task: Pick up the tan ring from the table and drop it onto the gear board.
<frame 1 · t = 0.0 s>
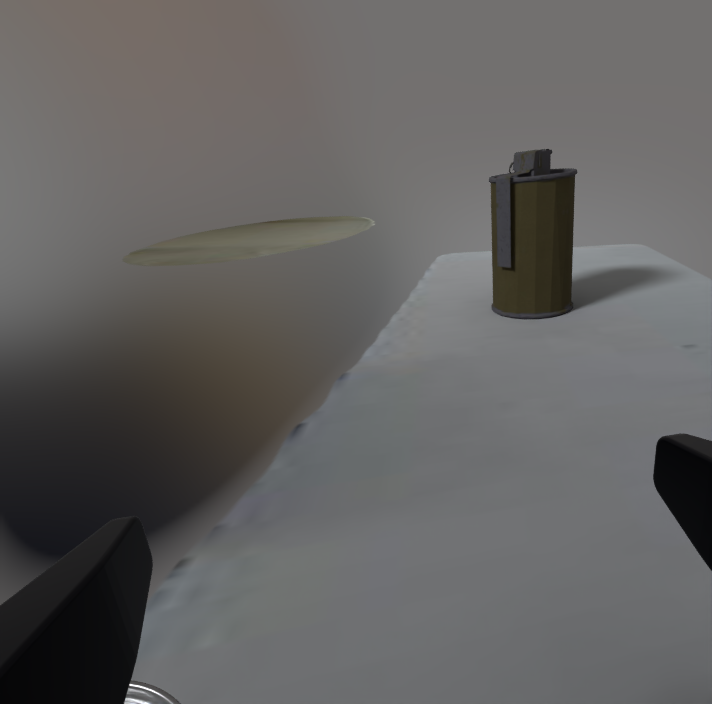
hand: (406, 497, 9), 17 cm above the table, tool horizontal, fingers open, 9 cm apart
canister: (530, 309, 72), on the table
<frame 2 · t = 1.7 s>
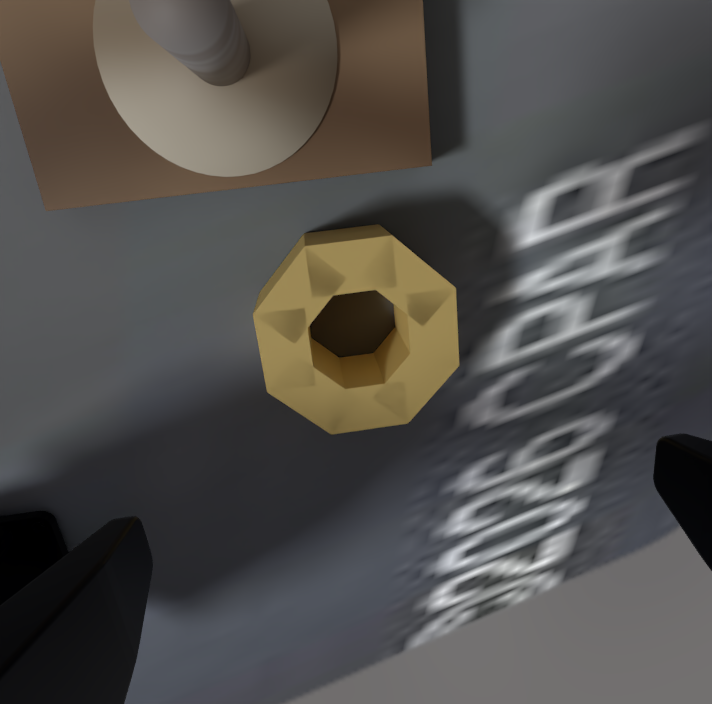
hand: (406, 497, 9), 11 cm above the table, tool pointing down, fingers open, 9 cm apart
tan ring: (351, 315, 20), on the table
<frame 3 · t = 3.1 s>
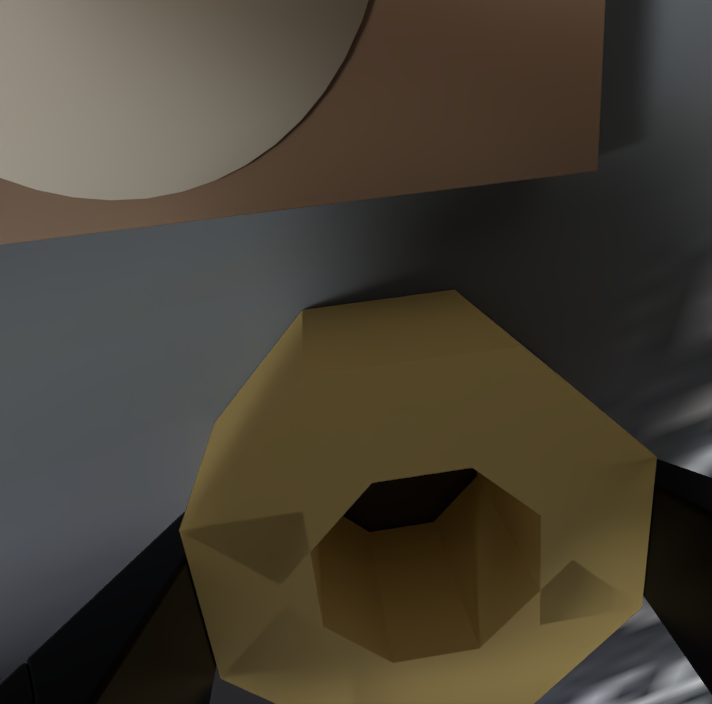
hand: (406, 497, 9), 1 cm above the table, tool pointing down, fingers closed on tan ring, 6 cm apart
tan ring: (394, 459, 10), on the table, touching gripper
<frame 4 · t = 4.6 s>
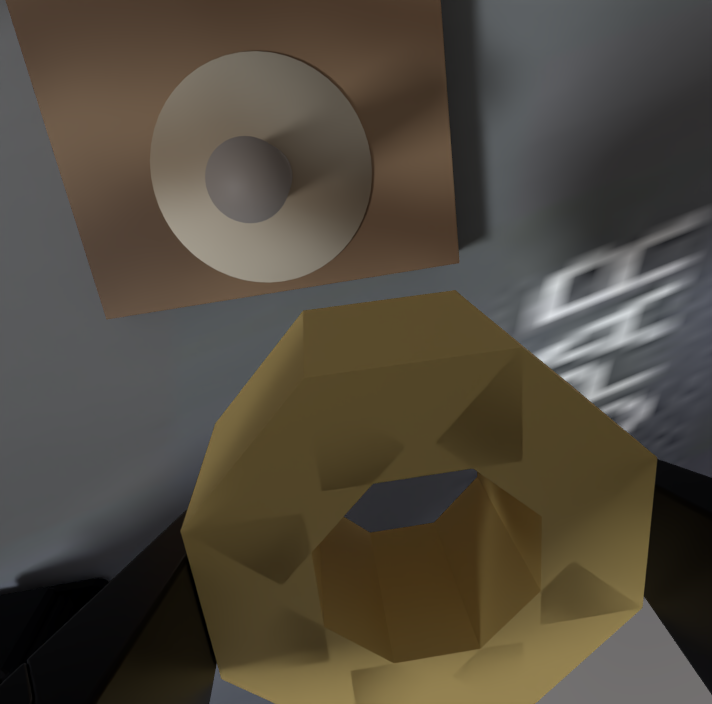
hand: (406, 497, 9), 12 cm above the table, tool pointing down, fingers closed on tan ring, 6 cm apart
tan ring: (395, 460, 10), point 10 cm above the table, touching gripper
gear board: (239, 31, 17), on the table
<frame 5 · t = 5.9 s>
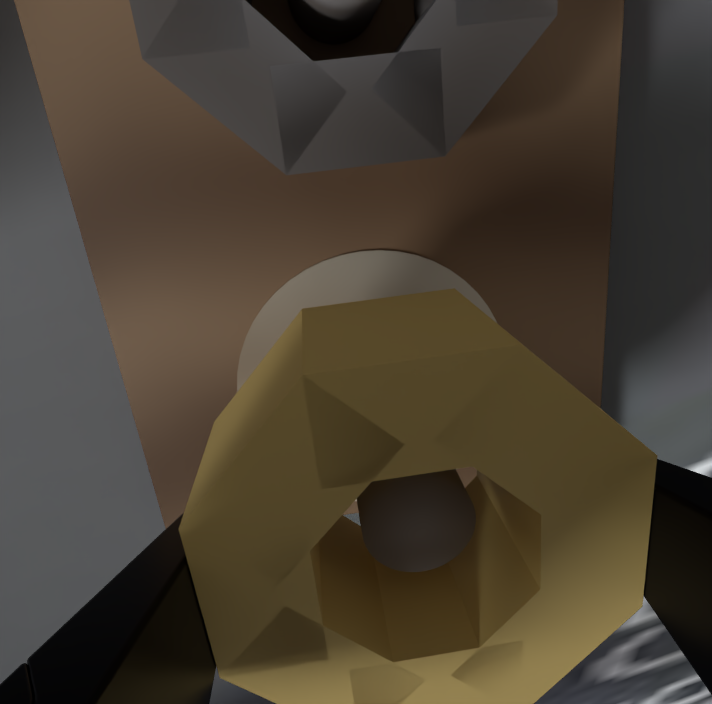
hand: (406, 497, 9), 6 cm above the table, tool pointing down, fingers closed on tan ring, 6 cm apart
tan ring: (394, 458, 10), point 5 cm above the table, touching gripper
gear board: (350, 207, 13), on the table
when the fingers open (5 cm above the table, at t = 6.5 s): tan ring drops 3 cm, resting on gear board.
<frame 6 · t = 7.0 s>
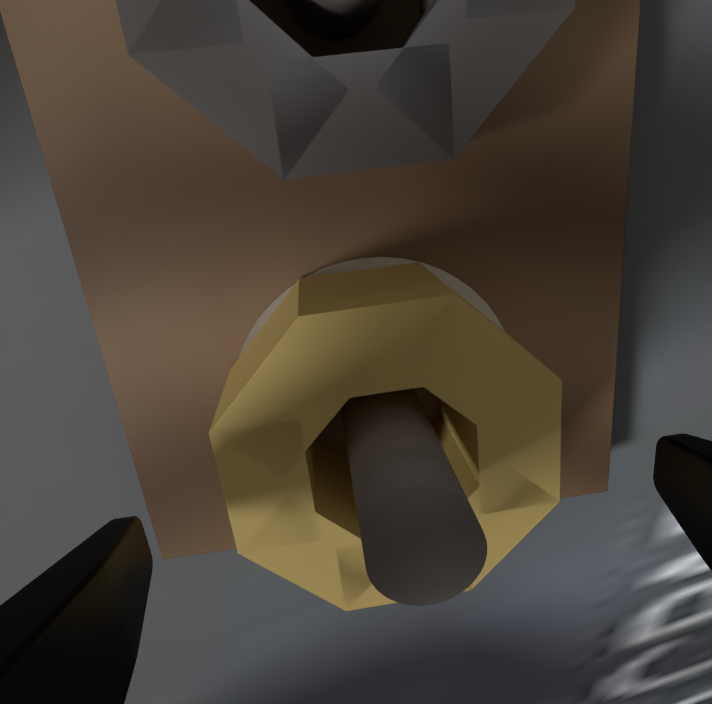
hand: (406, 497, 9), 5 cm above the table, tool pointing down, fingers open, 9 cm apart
tan ring: (374, 401, 13), point 2 cm above the table, touching gear board
gear board: (351, 211, 13), on the table
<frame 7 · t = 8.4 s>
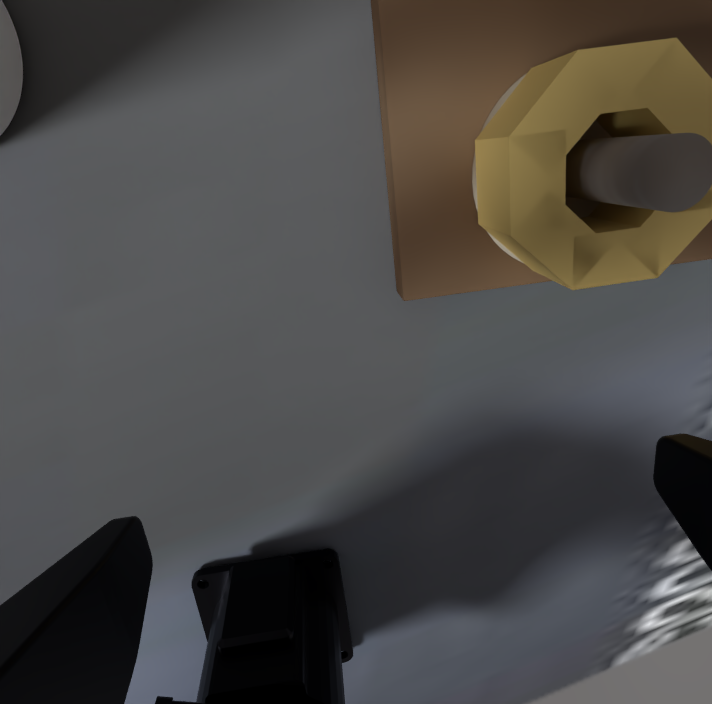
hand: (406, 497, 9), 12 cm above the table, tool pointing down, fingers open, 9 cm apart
tan ring: (570, 170, 18), point 2 cm above the table, touching gear board
gear board: (553, 34, 18), on the table
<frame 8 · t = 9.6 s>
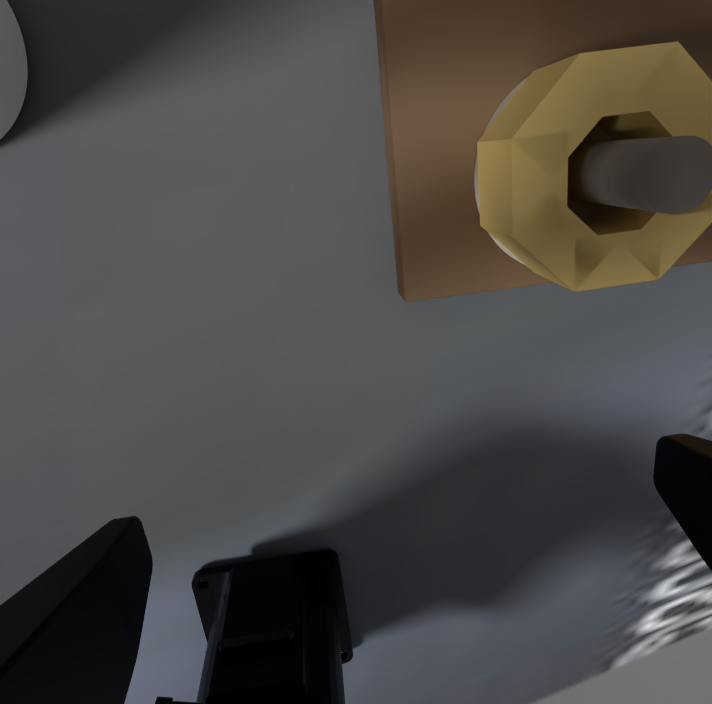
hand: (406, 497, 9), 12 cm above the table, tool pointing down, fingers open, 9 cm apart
tan ring: (571, 172, 18), point 2 cm above the table, touching gear board
gear board: (555, 37, 18), on the table
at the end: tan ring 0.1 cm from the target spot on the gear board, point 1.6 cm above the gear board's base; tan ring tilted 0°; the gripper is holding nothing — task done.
